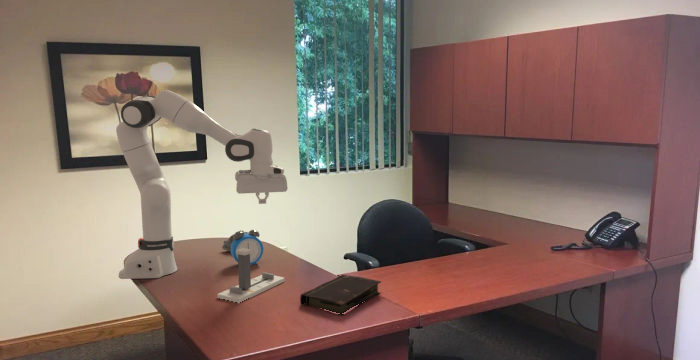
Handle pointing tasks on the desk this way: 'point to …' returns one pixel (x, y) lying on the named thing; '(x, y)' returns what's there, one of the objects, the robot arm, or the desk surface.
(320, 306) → the diary
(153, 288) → the desk surface
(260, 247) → the alarm clock
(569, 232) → the desk surface
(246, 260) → the fader tab
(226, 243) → the mineral rock
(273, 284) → the console
